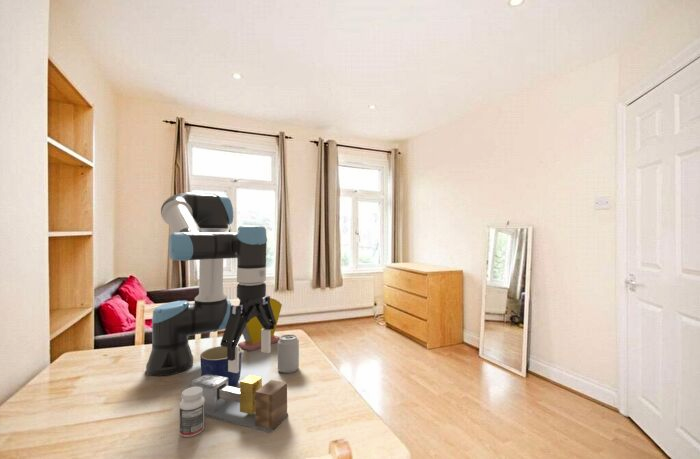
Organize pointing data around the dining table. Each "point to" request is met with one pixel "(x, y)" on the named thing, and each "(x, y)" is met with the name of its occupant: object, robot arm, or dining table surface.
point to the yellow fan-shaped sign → (259, 329)
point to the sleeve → (211, 390)
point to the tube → (242, 393)
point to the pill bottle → (192, 412)
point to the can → (288, 353)
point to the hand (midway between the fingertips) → (250, 361)
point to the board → (237, 416)
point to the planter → (219, 364)
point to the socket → (271, 404)
